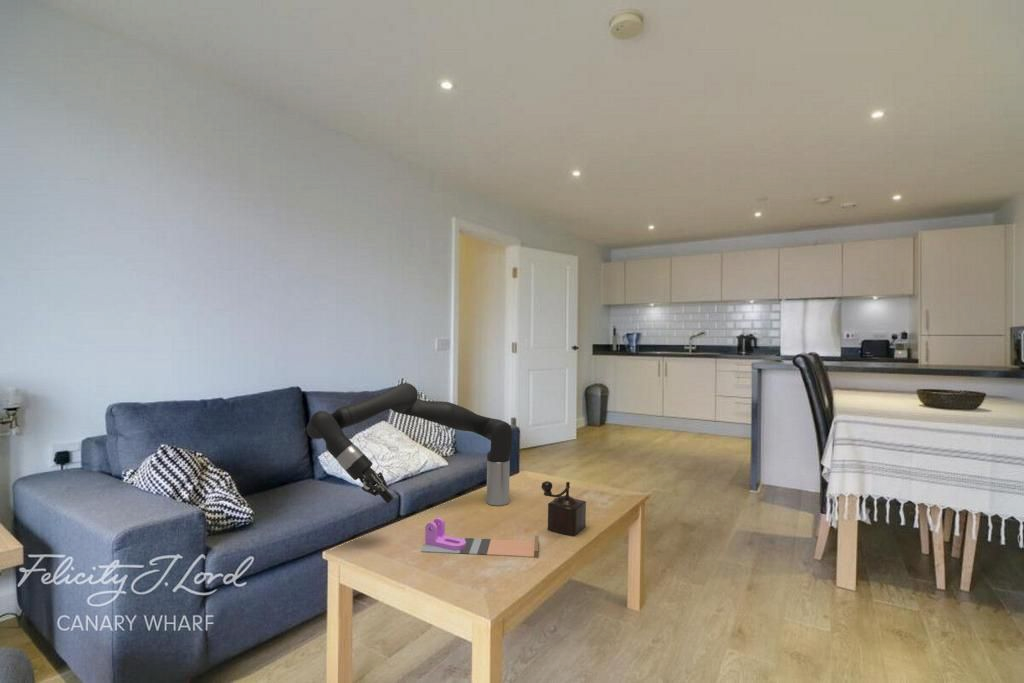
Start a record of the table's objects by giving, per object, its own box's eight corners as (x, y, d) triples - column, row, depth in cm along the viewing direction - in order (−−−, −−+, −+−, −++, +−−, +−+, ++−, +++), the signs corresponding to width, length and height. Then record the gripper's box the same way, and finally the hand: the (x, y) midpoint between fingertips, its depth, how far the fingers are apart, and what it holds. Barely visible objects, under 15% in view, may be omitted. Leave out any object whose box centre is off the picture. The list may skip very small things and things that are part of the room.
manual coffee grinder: (558, 520, 175) (559, 471, 175) (586, 527, 169) (587, 476, 169) (538, 534, 162) (538, 482, 162) (567, 542, 156) (568, 487, 156)
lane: (429, 537, 158) (429, 531, 158) (538, 542, 156) (538, 536, 156) (421, 551, 147) (421, 545, 147) (537, 557, 145) (538, 550, 145)
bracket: (425, 543, 153) (425, 522, 152) (435, 537, 158) (435, 516, 158) (460, 551, 147) (460, 529, 147) (469, 544, 152) (469, 523, 152)
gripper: (354, 464, 161) (389, 501, 160) (337, 475, 148) (375, 516, 147) (370, 449, 161) (405, 486, 160) (354, 459, 147) (392, 499, 147)
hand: (390, 500), depth 153 cm, fingers closed
